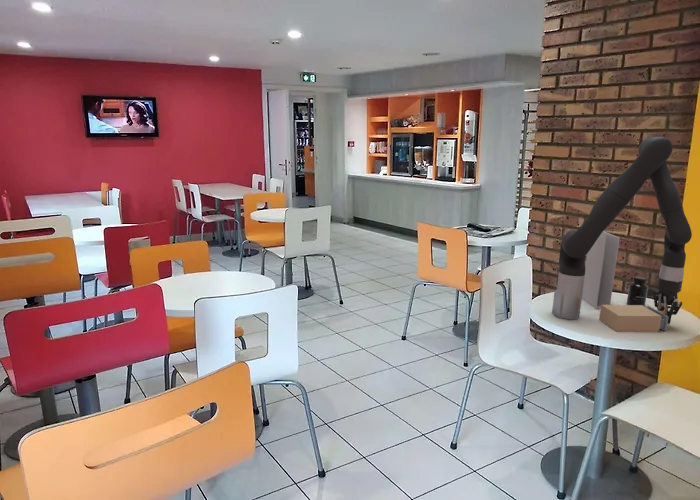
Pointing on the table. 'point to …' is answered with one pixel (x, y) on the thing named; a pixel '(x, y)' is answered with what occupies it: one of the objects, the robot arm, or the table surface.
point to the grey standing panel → (600, 270)
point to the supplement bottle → (637, 291)
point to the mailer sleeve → (630, 318)
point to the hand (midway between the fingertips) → (663, 321)
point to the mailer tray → (663, 319)
